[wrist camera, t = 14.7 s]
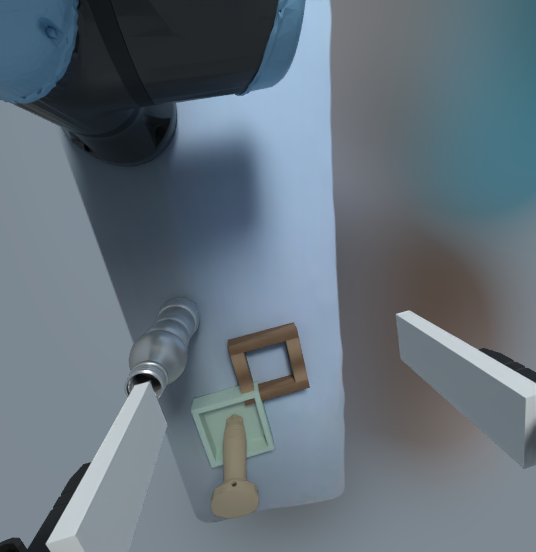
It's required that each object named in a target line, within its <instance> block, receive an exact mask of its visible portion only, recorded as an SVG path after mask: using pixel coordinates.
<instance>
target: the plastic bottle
mask: <svg viewBox="0 0 536 552" xmlns="http://www.w3.org/2000/svg"><path fill="white" fill-rule="evenodd" d="M199 323H200V315H199V310H198V308H197V306H196V305H195V304H194V303H193V302H192V301H190V300H188V299H186V298H174V299H171V300H170V301H168V302H166V303H165V304H164V305H163V306H162V307H161V308H160V310H159V313H158V316H157V320H156V322H155V324H154V325H153V326H152V328H151V329H150V330H149V331H147V332H146V333H145V334H144V335H142V336H141V337H140V338H139V339H138V340H137V341H136V342H135V344H134V345H133V347H132V349H131V352H130V356H129V367H130V370H131V372H130V374H129V377H128V379H127V381H126V384H125V393H126V395H127V397H128V396H129V395H130V393H131V391H132V389H133V388H134V386H135V385H138V384H142V383H146V382H149V381H150V383H151V385H152V388H153V390H154V393H155V395H156V398H157V400H159V398H160V397H161V396H162V394H163V391H164V389H165V388H166V386H167V385H169V384H170V383H172V382H174V381H175V380H176V379H177V378H178V377H179V376H180V375H181V374H182V372H183V371H184V369H185V367H186V363H187V355H188V344H189V340H190V338H191V336H192V335H193V334H194V333H195V331H196V330H197V328H198V326H199Z"/></svg>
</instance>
